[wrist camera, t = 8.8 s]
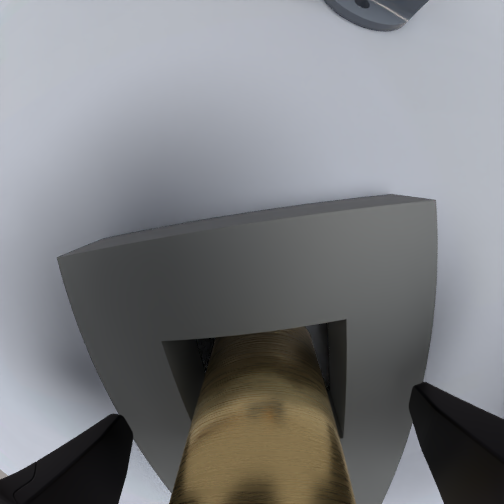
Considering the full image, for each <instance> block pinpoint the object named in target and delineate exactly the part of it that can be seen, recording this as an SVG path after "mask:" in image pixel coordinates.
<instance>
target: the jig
mask: <svg viewBox="0 0 504 504" xmlns="http://www.w3.org/2000/svg"><path fill="white" fill-rule="evenodd" d="M57 260H58V264H59V268H60V271H61V275H62V278H63V282H64V285H65V289H66V292H67V295H68V298H69V301H70V304H71V307H72V310H73V313H74V316H75V319H76V322H77V324H78V327H79V330H80V332H81V335H82V338H83V340H84V343H85V345H86V347H87V350H88V352H89V355H90V357H91V359H92V362H93V364H94V366H95V368H96V370H97V373H98V375H99V377H100V379H101V381H102V383H103V385H104V387H105V389H106V391H107V393H108V395H109V397H110V399H111V401H112V403H113V405H114V406H115V408H116V410H117V412H118V414H119V415H122V416H124V417H125V419H126V421H127V423H128V424H129V426H130V428H131V430H132V432H133V439H134V441H135V442H136V444H137V446H138V447H139V449H140V450H141V452H142V453H143V455H144V456H145V458H146V459H147V461H148V462H149V463H150V465H151V466H152V468H153V469H154V471H155V472H156V473H157V475H158V476H159V477H160V479H161V480H162V481H163V483H164V484H165V485H166V487H167V488H168V489H169V491H170V492H171V493H172V491H173V488H174V484H175V480H176V477H177V473H178V469H179V466H180V462H181V458H182V455H183V451H184V448H185V444H186V440H187V437H188V433H189V430H190V426H191V422H192V419H193V415H194V412H195V408H196V405H197V401H198V398H199V394H200V391H201V387H202V384H203V380H204V377H205V370H204V367H203V364H202V360H201V357H200V353H199V350H198V346H197V343H196V339H202V338H214V337H224V336H234V335H244V334H252V333H261V332H268V331H276V330H283V329H290V328H297V327H304V326H310V325H316V324H322V323H327V324H328V346H329V381H330V390H328V391H327V394H328V397H329V401H330V405H331V408H332V412H333V415H334V419H335V423H336V426H337V430H338V434H339V438H340V442H341V445H342V449H343V453H344V457H345V461H346V465H347V469H348V473H349V477H350V481H351V485H352V489H353V493H354V497H355V502H356V504H382V502H383V500H384V497H385V495H386V493H387V491H388V489H389V486H390V484H391V482H392V479H393V477H394V474H395V472H396V469H397V467H398V464H399V462H400V459H401V456H402V453H403V451H404V448H405V445H406V442H407V439H408V436H409V433H410V429H411V426H412V423H413V421H412V418H411V415H410V412H409V400H410V396H411V391H412V388H413V386H414V385H417V384H420V383H423V379H424V374H425V369H426V364H427V359H428V353H429V347H430V340H431V333H432V326H433V317H434V308H435V296H436V281H437V210H436V200H432V199H425V198H418V197H410V196H402V195H394V194H389V195H379V196H370V197H361V198H352V199H343V200H335V201H327V202H319V203H311V204H304V205H296V206H289V207H282V208H275V209H268V210H261V211H254V212H248V213H241V214H235V215H229V216H222V217H216V218H210V219H204V220H198V221H193V222H187V223H181V224H176V225H170V226H165V227H159V228H154V229H149V230H143V231H138V232H133V233H128V234H123V235H118V236H113V237H108V238H104V239H101V240H98V241H96V242H93V243H91V244H88V245H86V246H83V247H81V248H78V249H76V250H74V251H71V252H69V253H67V254H64V255H62V256H60V257H57Z"/></svg>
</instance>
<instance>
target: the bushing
mask: <svg viewBox="0 0 504 504" xmlns="http://www.w3.org/2000/svg"><path fill="white" fill-rule="evenodd" d="M169 504H356V502H355V497H354V493H353V489H352V485H351V481H350V477H349V473H348V469H347V465H346V461H345V457H344V453H343V449H342V445H341V442H340V438H339V434H338V430H337V426H336V423H335V419H334V415H333V412H332V408H331V405H330V401H329V397H328V394H327V390H326V387H325V383H324V380H323V376H322V373H321V369H320V366H319V362H318V359H317V356H316V352H315V349H314V345H313V342H312V339H311V336H310V334H309V332H308V330H307V329H306V327H305V326H304V327H297V328H290V329H283V330H276V331H268V332H261V333H252V334H244V335H234V336H224V337H216V339H215V342H214V345H213V349H212V352H211V356H210V359H209V363H208V366H207V370H206V373H205V377H204V380H203V384H202V387H201V391H200V394H199V398H198V401H197V405H196V408H195V412H194V415H193V419H192V422H191V426H190V430H189V433H188V437H187V440H186V444H185V448H184V451H183V455H182V458H181V462H180V466H179V469H178V473H177V477H176V480H175V484H174V488H173V491H172V495H171V499H170V503H169Z"/></svg>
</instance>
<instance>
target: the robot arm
mask: <svg viewBox="0 0 504 504" xmlns="http://www.w3.org/2000/svg"><path fill="white" fill-rule="evenodd" d="M409 412H410V415H411V418H412V421H413V424H414V427H415V431H416V434H417V437H418V440H419V444H420V447H421V449H422V452H423V454H424V457H425V459H426V461H427V463H428V466H429V468H430V470H431V473H432V475H433V477H434V480H435V482H436V485H437V487H438V490H439V492H440V495H441V497H442V500H443V502H444V504H504V419H502V418H500V417H497V416H495V415H493V414H491V413H489V412H487V411H484V410H482V409H480V408H478V407H476V406H474V405H472V404H470V403H468V402H465V401H463V400H461V399H459V398H457V397H455V396H453V395H451V394H449V393H447V392H445V391H443V390H441V389H439V388H437V387H435V386H433V385H431V384H429V383H427V382H423V383H420V384H417V385H414V386H413V388H412V391H411V396H410V400H409ZM132 442H133V432H132V430H131V428H130V426H129V424H128V423H127V421H126V419H125V417H124V416H122V415H119V414H110V415H109V416H107V417H106V418H104V419H103V420H101V421H100V422H98V423H97V424H95V425H94V426H92V427H91V428H89V429H88V430H86V431H84V432H83V433H81V434H80V435H78V436H77V437H75V438H74V439H72V440H70V441H69V442H67V443H66V444H64V445H62V446H61V447H59V448H58V449H56V450H54V451H53V452H51V453H50V454H48V455H46V456H45V457H43V458H41V459H40V460H38V461H37V462H34V463H33V464H31V465H29V466H28V467H26V468H24V469H22V470H20V471H18V472H16V473H14V474H12V475H10V476H7V477H5V478H3V479H0V504H118V503H119V499H120V496H121V492H122V489H123V485H124V482H125V478H126V474H127V470H128V464H129V458H130V453H131V447H132Z"/></svg>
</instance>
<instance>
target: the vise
mask: <svg viewBox="0 0 504 504" xmlns="http://www.w3.org/2000/svg"><path fill="white" fill-rule="evenodd" d="M427 1H428V0H325V2H326V3H327V4H328V5H329V6H330V7H331V8H332V9H333V10H334V11H335V12H336V13H338V14H339V15H340V16H342V17H344V18H345V19H347V20H348V21H350V22H352V23H354V24H356V25H359V26H362V27H364V28H368V29H371V30H376V31H393V30H397V29H399V28H401V27H402V26H403V25H404V24H405V23H406V22H407V21H408V20H409V19H410V18H411V17H412V16H413V15H414V14H415V13H416V12H417V11H418V10H419V9H420V8H421V7H422V6H423V5H424V4H425V3H426V2H427ZM359 6H361V7H362V8H361V7H359Z"/></svg>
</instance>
